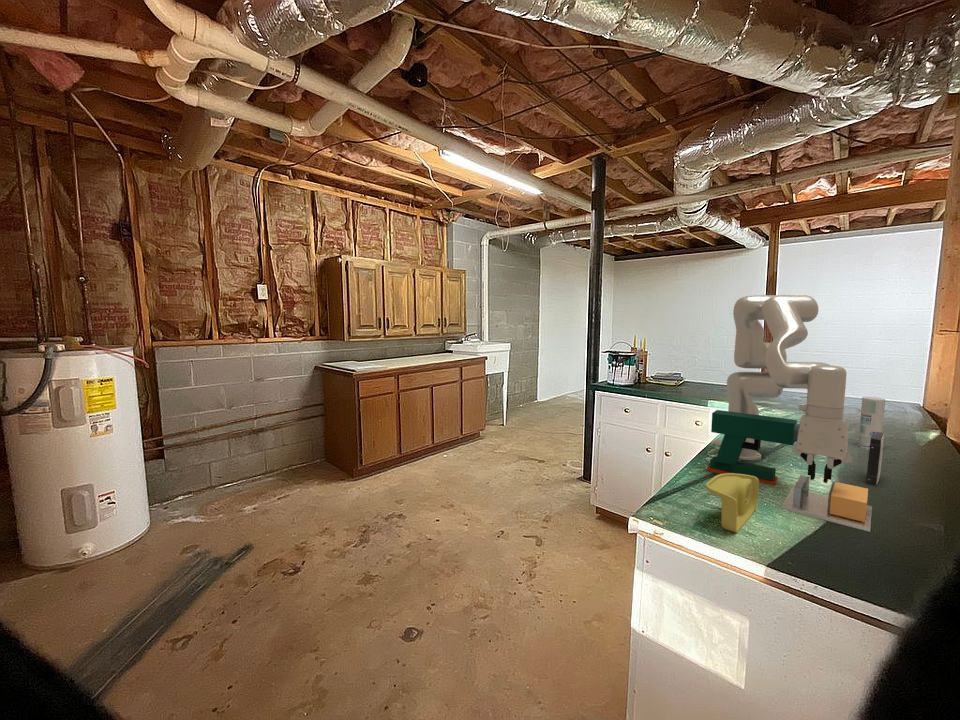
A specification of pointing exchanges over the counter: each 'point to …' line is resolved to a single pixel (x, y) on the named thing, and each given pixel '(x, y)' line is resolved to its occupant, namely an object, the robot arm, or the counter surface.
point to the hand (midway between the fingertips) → (819, 479)
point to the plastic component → (735, 498)
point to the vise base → (819, 506)
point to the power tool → (735, 437)
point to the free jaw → (848, 501)
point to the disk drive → (875, 458)
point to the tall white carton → (870, 419)
